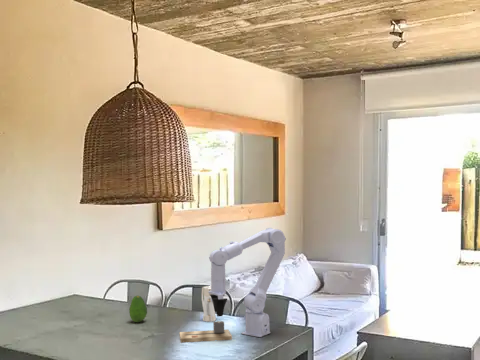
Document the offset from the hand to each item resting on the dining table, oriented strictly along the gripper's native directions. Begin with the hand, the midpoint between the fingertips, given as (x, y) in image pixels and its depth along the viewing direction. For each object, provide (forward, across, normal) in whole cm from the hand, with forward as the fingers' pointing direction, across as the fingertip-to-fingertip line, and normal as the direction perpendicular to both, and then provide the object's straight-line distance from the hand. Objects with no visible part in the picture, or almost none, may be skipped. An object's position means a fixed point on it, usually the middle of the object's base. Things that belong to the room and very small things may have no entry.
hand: (218, 313), depth 220 cm
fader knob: (+7, 0, 0) cm, 7 cm away
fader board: (+9, 0, -6) cm, 11 cm away
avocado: (+10, -32, -32) cm, 47 cm away
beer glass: (+9, -29, 0) cm, 30 cm away
